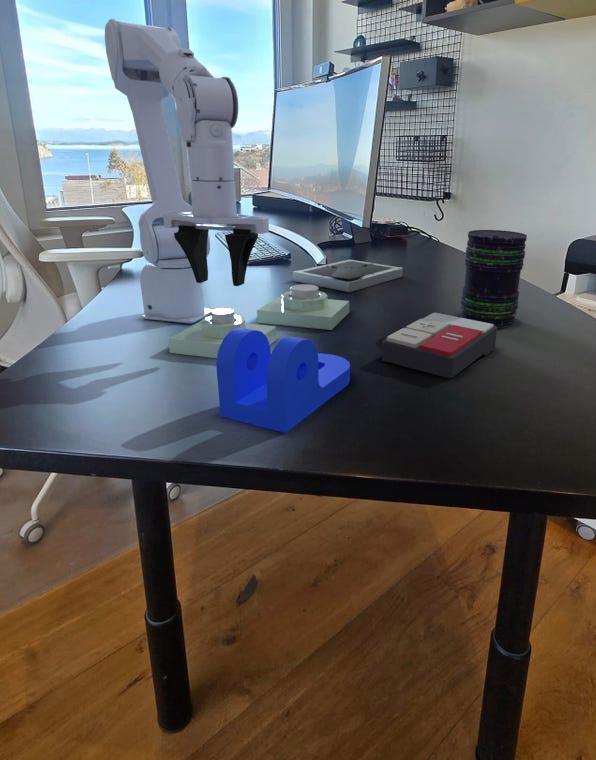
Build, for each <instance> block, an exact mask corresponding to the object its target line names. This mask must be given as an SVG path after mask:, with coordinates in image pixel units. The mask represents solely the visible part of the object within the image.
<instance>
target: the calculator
mask: <svg viewBox="0 0 596 760" xmlns="http://www.w3.org/2000/svg"><path fill="white" fill-rule="evenodd" d="M497 332H498V328H497V326H494V325H493V324H490V323H485V322H480V321H475V320H470V319H465V318H460V316H455V315H449V314H443V313H439V312H432V313H430V314H429V315H427V316H425V317H423V318H419V319H417V320H415V321H413V322H412V323H410V324H408V325H406V326H405V327H402V328H401V329H399V330H397V331H395V332H393V333H390V334H389V335H388V336H386V338H384V339H383V340H382V341H381V342H382V343H381V360H382V362H386V363H390V364H393V365H396V366H400V367H404V368H408V369H411V370H414V371H415V370H416V371H419V372H424V373H427V374H431V375H434V376H439V377H442V378H446V379H453V378H455V376H457V375H458V374H459V373H461V372H462V371H463V370H464V369H466V368H467V367H469V366H470V365H471V364H473V363H474V362H475V361H477V360H478V359H479V358H481V356H484V357H486V356H487V355H489V354H490V353H492V351H494V350H495V349H496V343H497V334H498V333H497Z"/></svg>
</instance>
